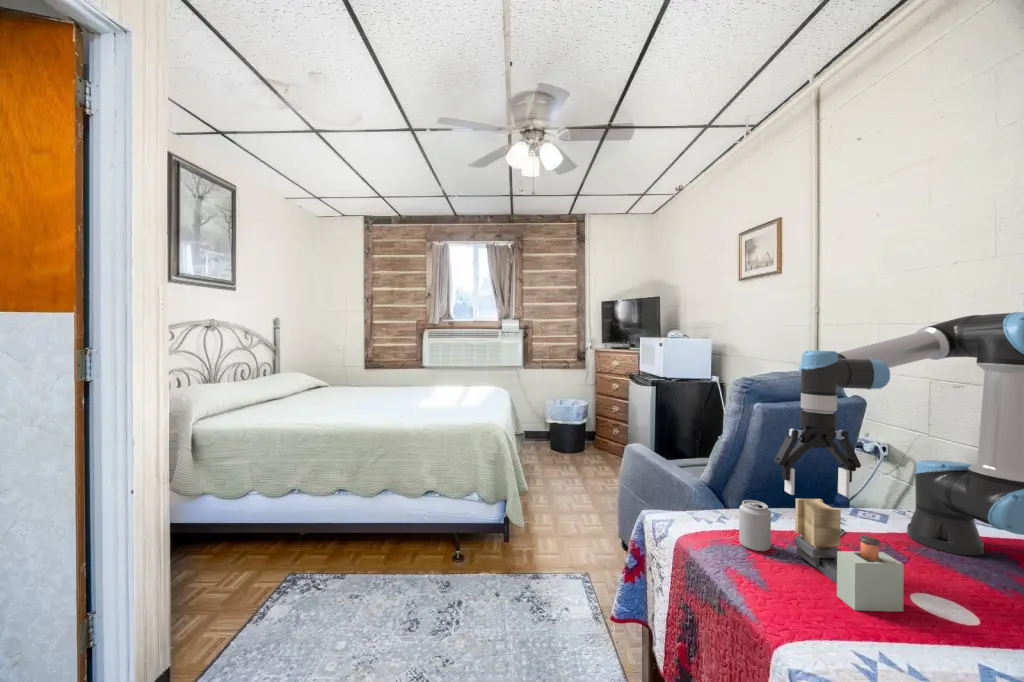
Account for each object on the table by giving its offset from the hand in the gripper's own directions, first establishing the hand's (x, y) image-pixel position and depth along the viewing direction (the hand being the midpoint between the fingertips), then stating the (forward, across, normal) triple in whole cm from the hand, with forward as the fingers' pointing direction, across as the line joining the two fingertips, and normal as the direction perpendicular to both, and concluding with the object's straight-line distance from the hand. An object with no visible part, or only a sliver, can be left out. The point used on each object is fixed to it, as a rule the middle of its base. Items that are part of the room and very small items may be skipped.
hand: (816, 493), depth 106 cm
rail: (+18, 0, +5) cm, 19 cm away
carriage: (+18, 0, 0) cm, 18 cm away
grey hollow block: (+18, 0, +16) cm, 24 cm away
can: (+18, +10, -8) cm, 23 cm away
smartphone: (+18, -14, -18) cm, 29 cm away
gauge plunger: (+8, 0, +16) cm, 18 cm away
